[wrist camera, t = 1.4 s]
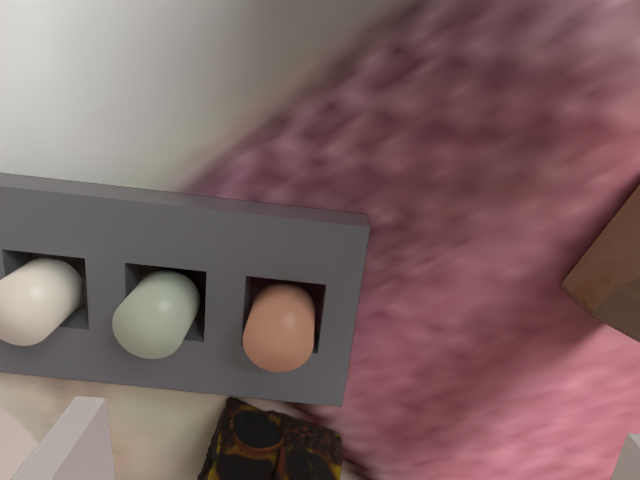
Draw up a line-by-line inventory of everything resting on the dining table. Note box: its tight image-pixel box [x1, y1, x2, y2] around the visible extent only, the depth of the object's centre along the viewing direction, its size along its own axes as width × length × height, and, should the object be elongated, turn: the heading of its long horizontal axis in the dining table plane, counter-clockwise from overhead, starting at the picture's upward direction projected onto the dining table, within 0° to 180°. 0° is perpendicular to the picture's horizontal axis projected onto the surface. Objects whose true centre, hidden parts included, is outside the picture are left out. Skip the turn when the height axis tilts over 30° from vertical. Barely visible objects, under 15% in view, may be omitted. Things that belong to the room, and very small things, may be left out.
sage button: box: [112, 270, 200, 359], centre depth 31 cm, size 4×4×4 cm
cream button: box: [0, 257, 85, 346], centre depth 30 cm, size 4×4×4 cm
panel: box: [0, 173, 370, 407], centre depth 33 cm, size 14×26×3 cm, turn 84°
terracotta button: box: [243, 282, 315, 372], centre depth 31 cm, size 4×4×4 cm
